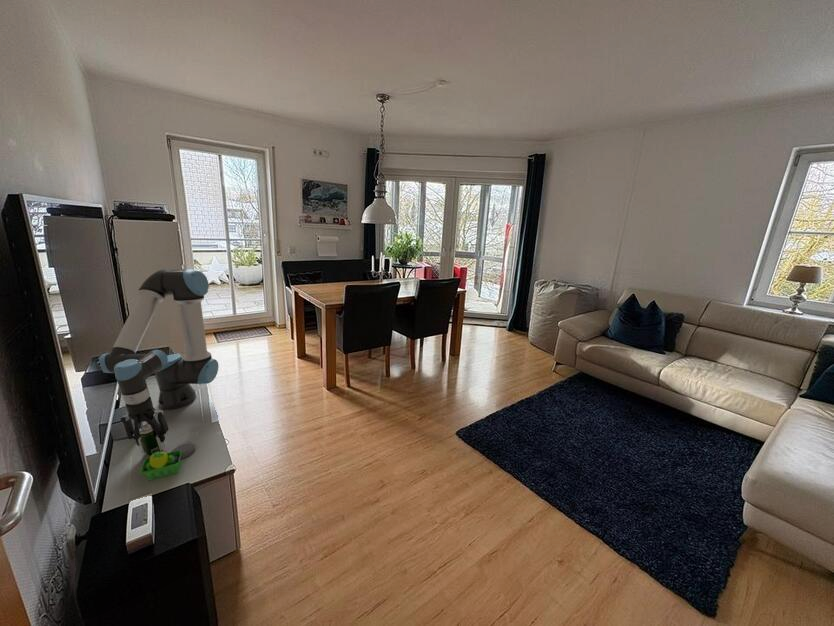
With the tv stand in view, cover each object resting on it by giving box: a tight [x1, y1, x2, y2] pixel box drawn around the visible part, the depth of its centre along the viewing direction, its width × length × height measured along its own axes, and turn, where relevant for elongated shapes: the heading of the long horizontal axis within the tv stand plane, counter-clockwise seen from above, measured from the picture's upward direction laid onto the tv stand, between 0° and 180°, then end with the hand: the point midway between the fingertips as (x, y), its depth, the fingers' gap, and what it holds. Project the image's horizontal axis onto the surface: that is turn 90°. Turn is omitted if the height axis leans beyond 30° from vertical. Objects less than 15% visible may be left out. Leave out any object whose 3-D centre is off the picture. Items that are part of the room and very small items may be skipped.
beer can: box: [139, 423, 162, 457], centre depth 135 cm, size 5×5×12 cm
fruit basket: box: [139, 450, 181, 481], centre depth 126 cm, size 11×9×11 cm
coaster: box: [171, 442, 196, 461], centre depth 137 cm, size 8×8×1 cm
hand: (153, 449), depth 137 cm, fingers closed on beer can, 5 cm apart
